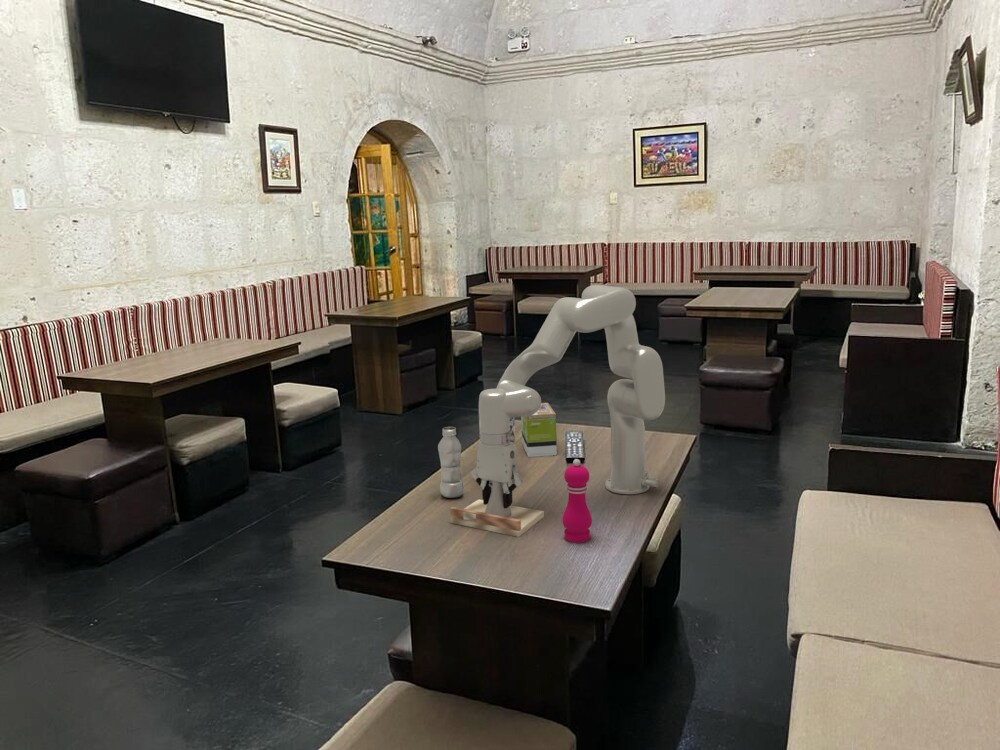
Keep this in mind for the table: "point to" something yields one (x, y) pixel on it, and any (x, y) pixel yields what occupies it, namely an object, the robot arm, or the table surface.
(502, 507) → the flask
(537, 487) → the table surface
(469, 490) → the table surface
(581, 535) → the pepper mill
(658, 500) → the table surface
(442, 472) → the plastic bottle
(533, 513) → the shelf board
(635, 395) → the robot arm
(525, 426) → the tea box
